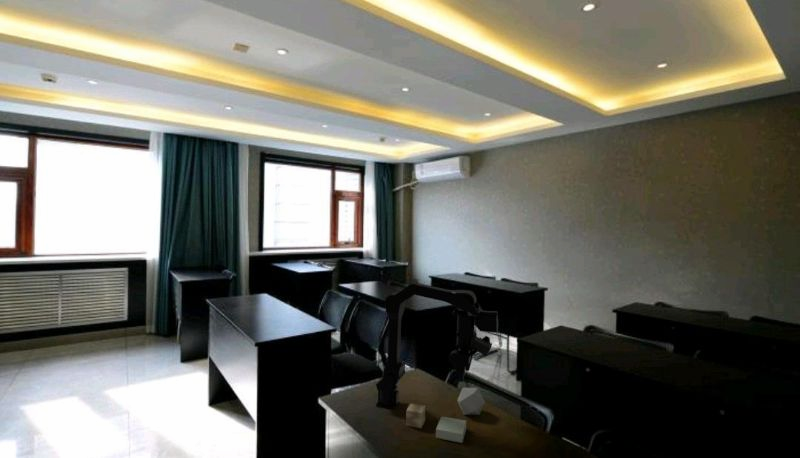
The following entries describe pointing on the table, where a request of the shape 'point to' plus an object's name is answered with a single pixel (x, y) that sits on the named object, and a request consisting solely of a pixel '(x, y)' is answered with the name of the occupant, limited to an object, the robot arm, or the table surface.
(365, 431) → the table surface
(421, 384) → the table surface
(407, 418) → the maple cube
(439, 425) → the foundation slab
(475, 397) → the die
